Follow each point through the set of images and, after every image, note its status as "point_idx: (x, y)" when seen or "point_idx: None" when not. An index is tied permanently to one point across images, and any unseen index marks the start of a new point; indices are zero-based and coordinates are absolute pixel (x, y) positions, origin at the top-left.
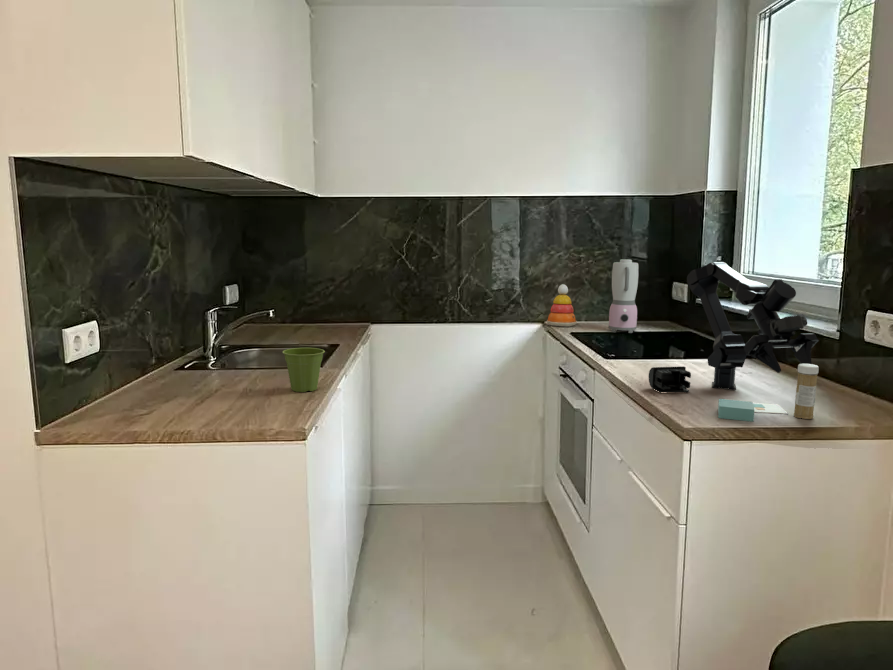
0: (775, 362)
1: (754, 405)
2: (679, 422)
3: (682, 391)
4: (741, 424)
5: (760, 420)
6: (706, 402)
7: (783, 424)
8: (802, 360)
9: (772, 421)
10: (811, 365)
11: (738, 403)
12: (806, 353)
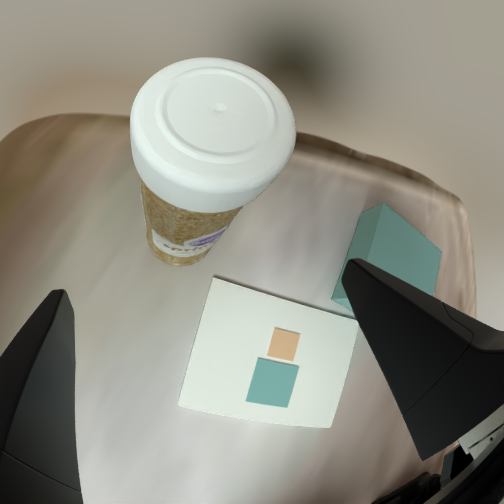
0: (412, 285)
1: (281, 385)
2: (469, 237)
3: (387, 496)
4: (391, 198)
5: (339, 220)
6: (387, 415)
7: (295, 172)
8: (62, 430)
9: (311, 205)
10: (199, 95)
11: (399, 277)
12: (10, 421)
